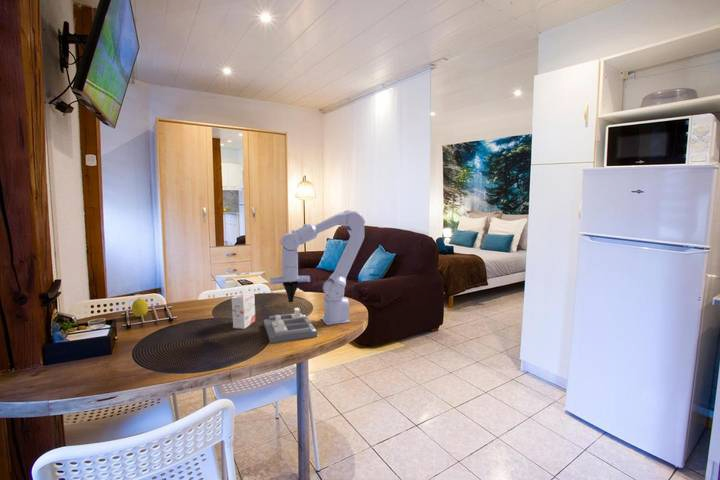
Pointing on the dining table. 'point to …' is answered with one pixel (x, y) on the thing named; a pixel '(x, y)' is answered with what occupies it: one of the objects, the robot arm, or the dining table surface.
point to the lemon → (139, 307)
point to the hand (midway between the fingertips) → (290, 301)
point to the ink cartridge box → (243, 308)
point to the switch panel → (290, 329)
